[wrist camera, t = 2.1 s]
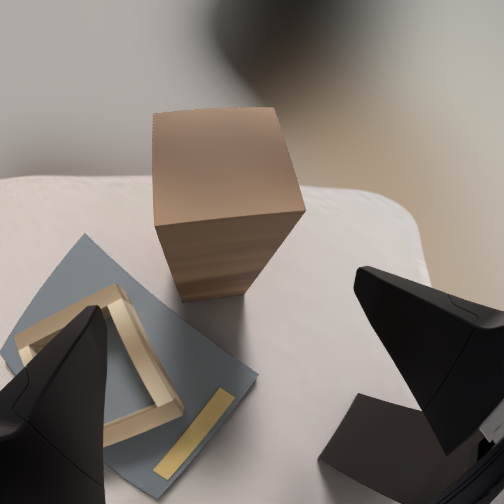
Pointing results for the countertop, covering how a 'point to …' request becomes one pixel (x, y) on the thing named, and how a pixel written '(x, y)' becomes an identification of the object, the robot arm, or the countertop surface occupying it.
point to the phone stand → (394, 451)
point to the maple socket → (139, 349)
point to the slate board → (128, 379)
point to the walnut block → (221, 196)
